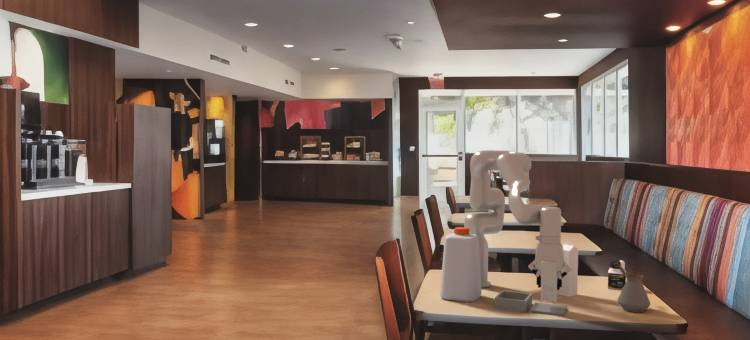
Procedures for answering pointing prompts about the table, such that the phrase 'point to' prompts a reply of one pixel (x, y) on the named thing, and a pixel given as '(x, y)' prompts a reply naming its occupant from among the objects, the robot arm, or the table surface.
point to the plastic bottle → (461, 267)
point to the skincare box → (549, 281)
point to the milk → (572, 277)
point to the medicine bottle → (616, 275)
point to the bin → (513, 301)
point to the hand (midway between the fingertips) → (549, 287)
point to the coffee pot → (633, 293)
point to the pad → (548, 309)
